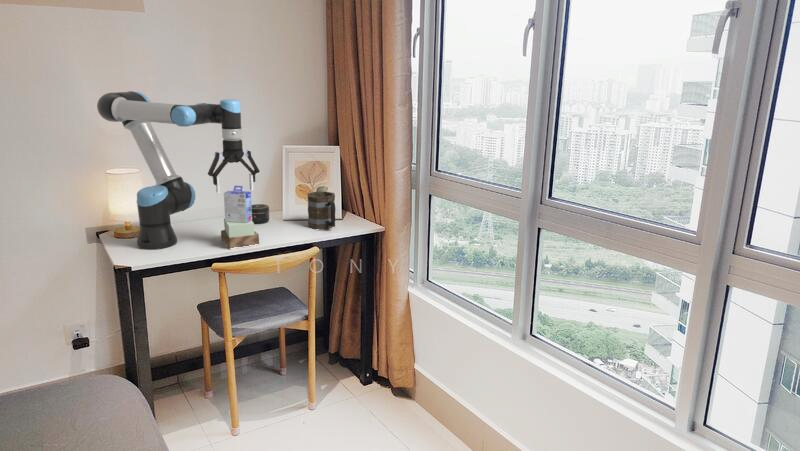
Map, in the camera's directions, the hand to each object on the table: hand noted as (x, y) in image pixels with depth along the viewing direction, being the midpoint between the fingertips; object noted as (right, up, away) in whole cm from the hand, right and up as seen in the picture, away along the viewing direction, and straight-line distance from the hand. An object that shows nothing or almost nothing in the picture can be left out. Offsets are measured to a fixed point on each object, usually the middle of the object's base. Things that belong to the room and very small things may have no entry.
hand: (235, 191), depth 229 cm
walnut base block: (0, -22, +6) cm, 22 cm away
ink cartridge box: (+1, -12, +3) cm, 13 cm away
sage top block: (0, -17, +4) cm, 17 cm away
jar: (0, -12, +38) cm, 40 cm away
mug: (+32, -15, +31) cm, 47 cm away
